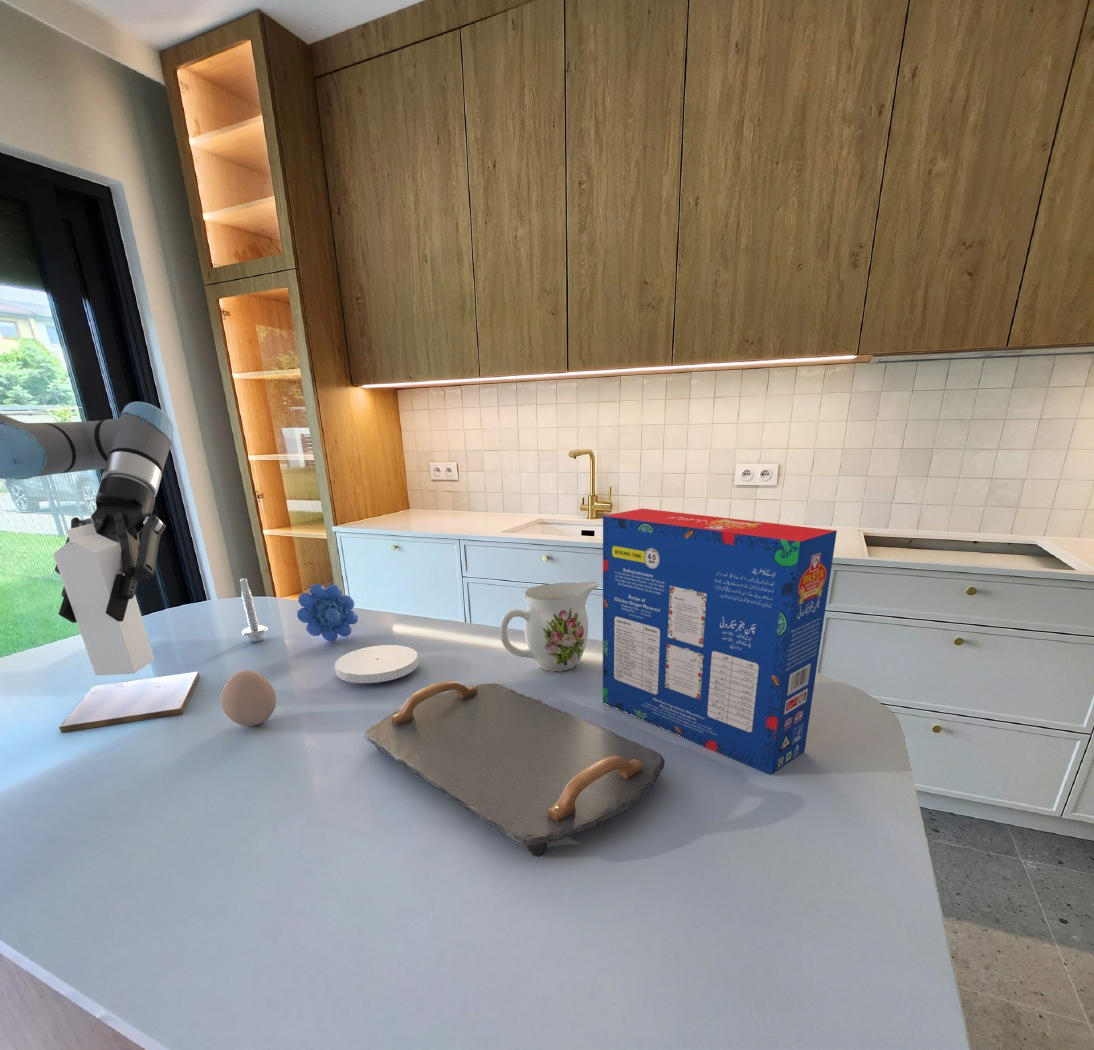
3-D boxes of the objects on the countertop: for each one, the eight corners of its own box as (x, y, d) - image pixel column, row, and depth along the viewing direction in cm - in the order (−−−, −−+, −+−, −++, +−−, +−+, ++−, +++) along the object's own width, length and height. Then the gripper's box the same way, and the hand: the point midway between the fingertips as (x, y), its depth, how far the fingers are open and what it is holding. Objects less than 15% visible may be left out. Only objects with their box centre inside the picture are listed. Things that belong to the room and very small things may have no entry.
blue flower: (310, 653, 118) (299, 592, 114) (299, 644, 123) (287, 585, 119) (368, 639, 125) (359, 581, 120) (355, 631, 130) (346, 575, 125)
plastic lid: (348, 696, 100) (346, 681, 99) (328, 668, 111) (326, 655, 110) (430, 676, 106) (429, 662, 105) (404, 652, 117) (402, 639, 116)
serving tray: (352, 744, 85) (344, 703, 83) (485, 692, 99) (482, 656, 97) (546, 883, 59) (544, 829, 56) (688, 784, 73) (691, 738, 71)
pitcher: (494, 662, 111) (488, 587, 106) (586, 647, 117) (585, 575, 111) (512, 685, 101) (507, 604, 96) (612, 667, 107) (612, 590, 102)
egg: (285, 726, 91) (273, 673, 87) (231, 740, 87) (217, 685, 84) (276, 708, 96) (264, 658, 93) (225, 721, 93) (211, 669, 90)
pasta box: (804, 751, 79) (836, 530, 68) (770, 775, 75) (799, 541, 64) (637, 688, 99) (642, 508, 88) (602, 703, 94) (602, 515, 83)
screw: (271, 635, 130) (267, 642, 125) (246, 637, 129) (241, 645, 124) (258, 573, 124) (253, 579, 120) (232, 575, 124) (226, 581, 119)
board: (61, 732, 91) (58, 726, 91) (95, 691, 105) (93, 685, 105) (182, 714, 96) (180, 708, 95) (199, 676, 110) (198, 671, 109)
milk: (155, 659, 101) (115, 522, 92) (134, 674, 95) (89, 529, 87) (116, 661, 101) (73, 523, 92) (93, 676, 95) (44, 530, 87)
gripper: (200, 502, 103) (170, 627, 94) (87, 505, 104) (47, 630, 95) (173, 471, 96) (138, 603, 87) (52, 475, 97) (5, 607, 88)
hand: (91, 617), depth 91 cm, fingers closed on milk, 6 cm apart
